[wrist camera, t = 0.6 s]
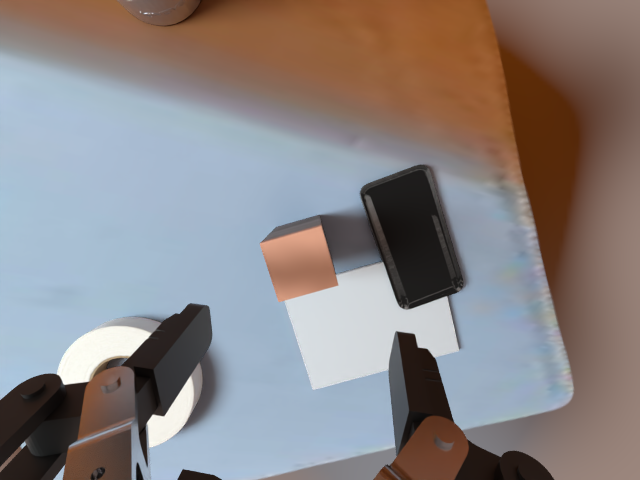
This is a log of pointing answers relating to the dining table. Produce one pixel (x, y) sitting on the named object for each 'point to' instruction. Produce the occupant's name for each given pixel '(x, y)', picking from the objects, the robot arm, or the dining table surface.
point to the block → (299, 259)
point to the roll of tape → (122, 342)
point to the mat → (363, 326)
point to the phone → (412, 236)
